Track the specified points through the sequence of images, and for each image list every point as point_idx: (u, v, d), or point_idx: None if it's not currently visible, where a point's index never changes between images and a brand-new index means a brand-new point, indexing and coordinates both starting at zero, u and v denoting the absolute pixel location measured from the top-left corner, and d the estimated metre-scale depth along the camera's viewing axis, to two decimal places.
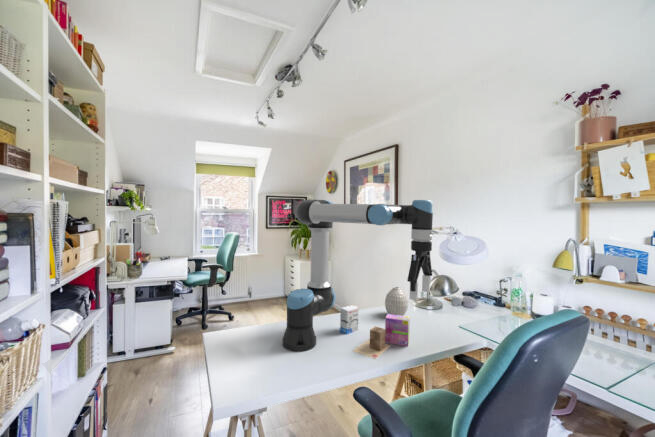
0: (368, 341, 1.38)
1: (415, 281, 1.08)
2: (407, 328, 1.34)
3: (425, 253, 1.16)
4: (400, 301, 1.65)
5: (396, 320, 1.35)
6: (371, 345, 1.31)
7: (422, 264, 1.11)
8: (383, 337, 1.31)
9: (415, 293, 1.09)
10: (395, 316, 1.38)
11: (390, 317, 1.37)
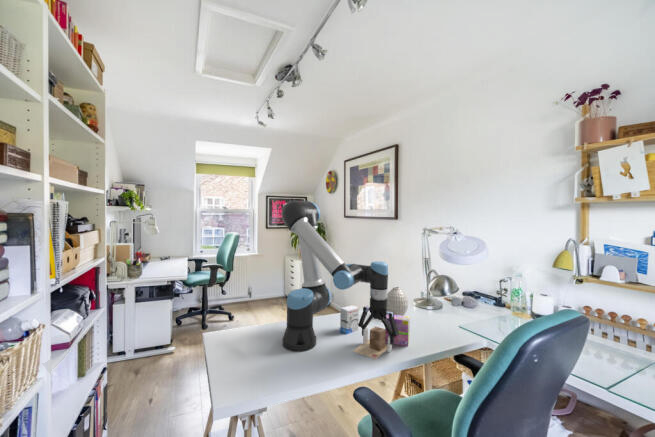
0: (368, 341, 1.38)
1: (361, 327, 1.35)
2: (407, 328, 1.34)
3: (380, 310, 1.29)
4: (400, 301, 1.65)
5: (396, 320, 1.35)
6: (371, 345, 1.31)
7: (370, 317, 1.32)
8: (383, 337, 1.31)
9: None
10: (395, 316, 1.38)
11: None
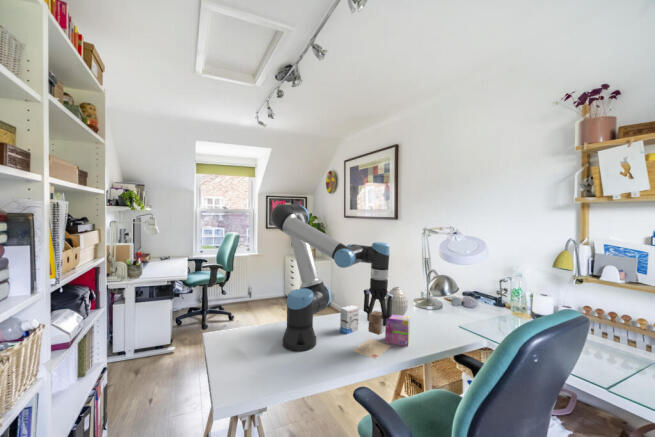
0: (368, 341, 1.38)
1: (367, 313, 1.33)
2: (407, 328, 1.34)
3: (382, 290, 1.29)
4: (400, 301, 1.65)
5: (396, 320, 1.35)
6: (370, 329, 1.31)
7: (372, 298, 1.31)
8: None
9: None
10: (395, 316, 1.38)
11: (390, 317, 1.37)
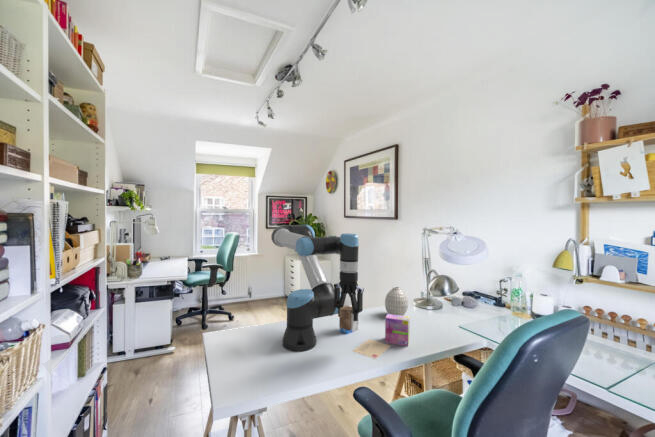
0: (368, 341, 1.38)
1: (338, 308, 1.27)
2: (407, 328, 1.34)
3: (351, 283, 1.22)
4: (400, 301, 1.65)
5: (396, 320, 1.35)
6: (341, 324, 1.24)
7: (342, 292, 1.25)
8: None
9: None
10: (395, 316, 1.38)
11: (390, 317, 1.37)
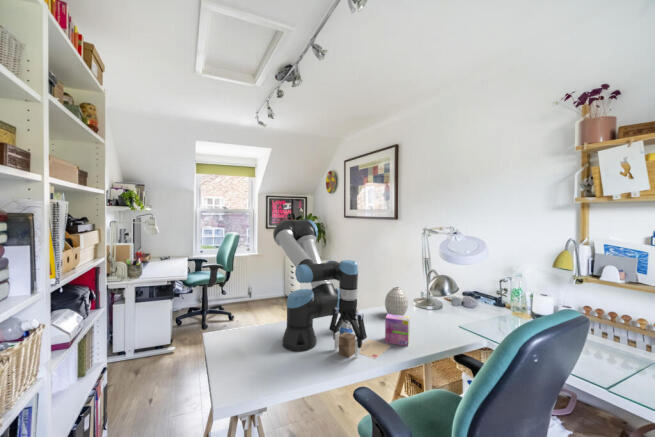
0: (368, 341, 1.38)
1: (333, 331, 1.28)
2: (407, 328, 1.34)
3: (350, 311, 1.23)
4: (400, 301, 1.65)
5: (396, 320, 1.35)
6: (340, 352, 1.25)
7: (340, 319, 1.25)
8: (353, 343, 1.25)
9: None
10: (395, 316, 1.38)
11: (390, 317, 1.37)
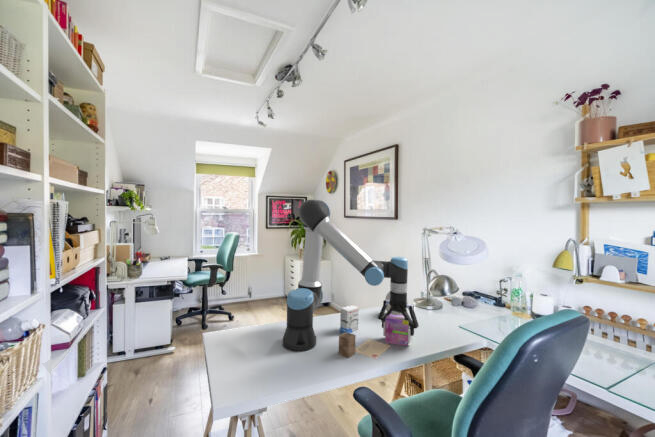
0: (368, 341, 1.38)
1: None
2: (407, 328, 1.34)
3: (401, 303, 1.35)
4: None
5: (396, 320, 1.35)
6: (340, 352, 1.25)
7: (390, 309, 1.38)
8: (353, 343, 1.25)
9: None
10: (395, 316, 1.38)
11: (390, 317, 1.37)
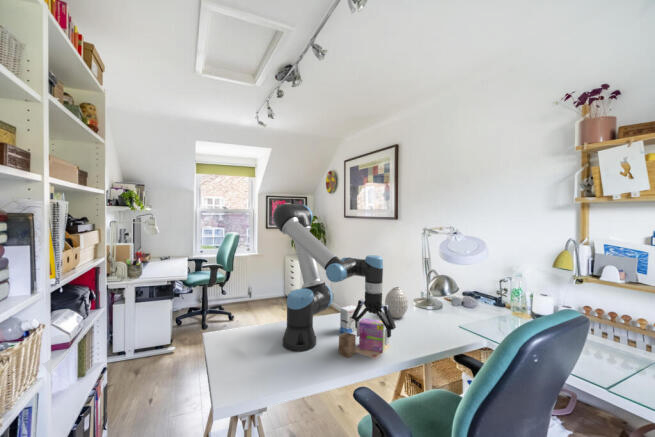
0: None
1: (355, 319, 1.35)
2: (382, 333, 1.27)
3: (375, 304, 1.28)
4: (400, 301, 1.65)
5: (370, 325, 1.28)
6: (340, 352, 1.25)
7: (364, 310, 1.31)
8: (353, 343, 1.25)
9: None
10: (370, 321, 1.31)
11: (364, 322, 1.30)
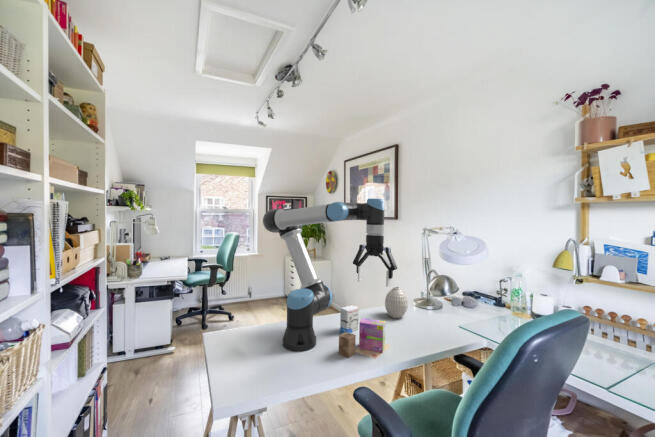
0: None
1: (356, 264, 1.34)
2: (382, 333, 1.27)
3: (377, 246, 1.28)
4: (400, 301, 1.65)
5: (370, 325, 1.28)
6: (340, 352, 1.25)
7: (366, 253, 1.30)
8: (353, 343, 1.25)
9: None
10: (370, 321, 1.31)
11: (364, 322, 1.30)
